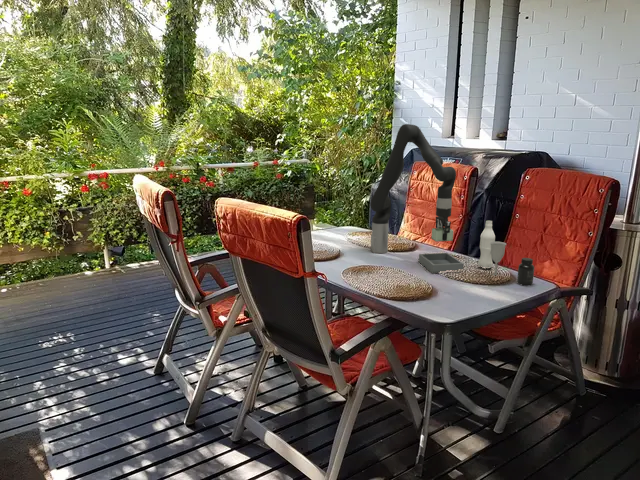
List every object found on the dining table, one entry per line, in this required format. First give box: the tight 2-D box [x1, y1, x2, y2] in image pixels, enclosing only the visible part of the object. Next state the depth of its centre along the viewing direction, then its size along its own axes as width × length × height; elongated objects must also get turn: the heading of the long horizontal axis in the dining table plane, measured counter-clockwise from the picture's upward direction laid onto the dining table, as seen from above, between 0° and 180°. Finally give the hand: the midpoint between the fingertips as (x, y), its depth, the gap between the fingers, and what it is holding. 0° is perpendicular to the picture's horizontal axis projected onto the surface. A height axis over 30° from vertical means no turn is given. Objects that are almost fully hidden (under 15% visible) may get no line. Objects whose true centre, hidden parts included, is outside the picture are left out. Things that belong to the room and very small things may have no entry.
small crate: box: [431, 227, 454, 243], centre depth 250 cm, size 9×6×6 cm, turn 99°
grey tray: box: [418, 252, 464, 275], centre depth 254 cm, size 16×20×4 cm
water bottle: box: [477, 220, 496, 268], centre depth 249 cm, size 7×7×25 cm
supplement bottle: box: [516, 257, 535, 286], centre depth 228 cm, size 7×7×12 cm
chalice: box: [490, 241, 507, 276], centre depth 233 cm, size 7×7×18 cm
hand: (441, 238), depth 251 cm, fingers closed on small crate, 6 cm apart
